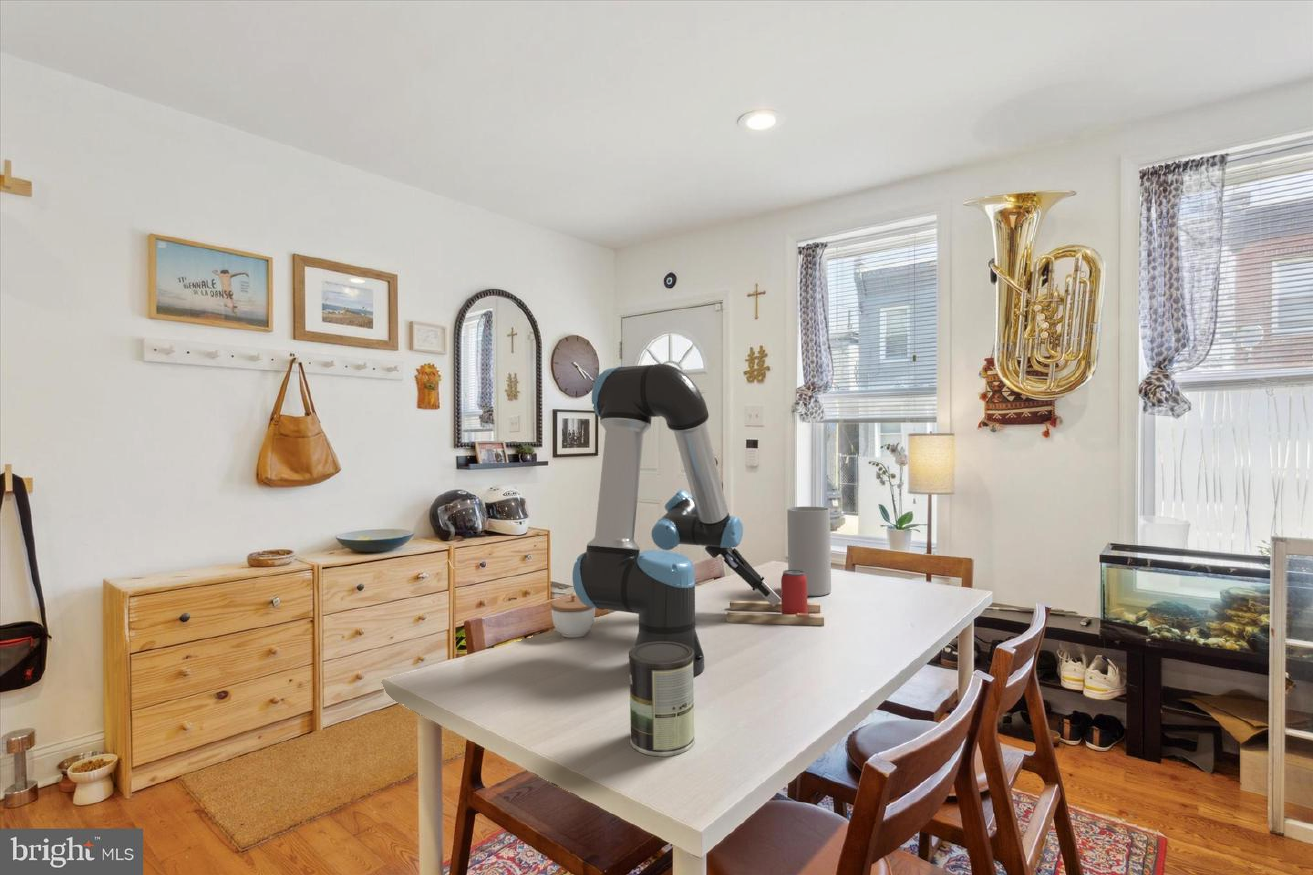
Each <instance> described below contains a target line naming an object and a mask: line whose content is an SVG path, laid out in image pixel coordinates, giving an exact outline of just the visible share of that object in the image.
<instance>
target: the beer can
mask: <svg viewBox="0 0 1313 875" xmlns="http://www.w3.org/2000/svg"><path fill="white" fill-rule="evenodd" d="M780 587H781V589H780V590H781V595H780V596H781V597H780V598H781V601H780V602H781V603H782V612H781V614H797V613H808V612H807V603H808V596H807V579H806V576H805V572H804V571H801V570H788V569H786V570H785V569H784V570H783V571H782V575H781V579H780Z"/></svg>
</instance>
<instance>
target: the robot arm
mask: <svg viewBox="0 0 1313 875" xmlns="http://www.w3.org/2000/svg"><path fill="white" fill-rule="evenodd" d="M591 404H592V405H593V406H592V409H593V411H594V413H595V414H596V415H597V417H599V424H600V425H601V426H602V427H603V429H604V430H605V434H604V441H603V442H604V443H603V454H602V463H601V474H600V480H599V481H600V482H599V492H598V493H599V494H598V502H597V511H596V513H597V514H596V522H595V523H596V524H595V533H594V536H593V538H592V539H591V540H590V541H589V542H588V543H586V550H585V552H583V553H581V554H579V556H578V557H577V558H576V561H575V562H574V564H573V568H572V586H573V590H574V593H575V596H576V597H578V598H579V600H580V601H581V602H582V603H583V604H585V605H587V606H590V607H595V609H598V610H601V611H602V610H609V611H617V612H623V613H624V612H625V613H631V614H636V615H638V632H637V636H636V640H635V643H634V646H633V647H635V646H637V645H640V644H643V643H647V642H655V641H670V642H677V643H682V644H685V645H687V646H689V647H691V648H692V649H693V651H694V658H693V678H694V677H696V676H699V675H700V674H701V673H702V672H703V671H704V670H705V656H704V652H703V649H702V645H701V643H700V640H699V639H700V638H699V637H698V633H697V631H696V577H695V568H694V564H693V561H692V560H691V559H690V558H688V557H687V556H685V555H683V554H681V553H677V552H673V551H670V550H673V549H674V548H676V547H678V545H688V546H701V547H705V548H704V549H705V552H707V553H708V555H709V556H711V558H713V559H715V558H717V557H718V556H719V555H721V557H722V558H723V562H724V563H725V564H726V565H727V566H728V568H730V569H732V570H733V571H734V572H735V573H736V574H737V575H738V576H739V577H740V578H742V580H743V581H745V582H746V584H748V585H749V586H750V587H751V588H752V589H751V590H752V591H754V592H755V590H756V591H757V592H758V593H759V594H760V595H761V596H762V597H763V598H764V599H765V601H766V602H769V603H770V604H771V605H772V606H773V607H774V606H775V605H777V604H778V603H779V602H781V597H780V596H779V595H778V594H777V593H776V592H775V591H774V590H773V589H772V588H771V587H770V586H769V585H768V584H767V583H766V582H765V581H764V580H765V577H764V576H761V575H760V574H759V573H758V572H757V571H756V570H755V569H754V568H753V567H752V566H751V564H750V563H749V562H748V561H747V560H746V559H745V558H744V556H742V555H741V553H740V552H739V550H738V549H737V548H736V547H738V546H739V545H740V544H741V542H742V539H743V535H744V534H743V533H744V526H743V522H742V520H741V519H740V517H737V516H734V515H730V513H729V510H728V505H727V503H726V502H727V500H726V499H725V493H724V489H723V485H722V482H721V478H720V473H719V468H718V465H717V461H716V457H715V453H714V449H713V444H712V441H711V437H710V433H709V430H708V425H707V422H708V421H709V419H710V414H709V411H708V407H707V403H706V400H705V399H704V397H703V394H702V393H701V391H700V389H699V388H698V387H697V385H696V383H695V382H694V381H693V380H692V379H691V378H690V377H689V376H688V375H687V374H686V373H685V372H683V371H682V370H680V369H679V368H677V367H675V366H673V365H670V364H665V363H655V364H645V365H630V366H622V365H621V366H617V367H613V368H608V369H604V370H603V371H602V372H601V373H600V374H599V375H598V376H597V377H596V379H595V381H594V383H593V387H592V391H591ZM655 417H662V418H663V419H664V420H665V422H666V426H667V428H668V429H669V430H670V431H671V432H673V433H674V437H675V440H676V444H677V446H678V447H677V448H678V451H679V453H680V454H679V455H680V458H681V461H682V464H683V465H682V466H683V469H684V473H685V477H686V479H687V483H688V486H689V489H690V493H688V491H686V490H684V489H679V490H678V492H676V493H675V494H674V495H673V496H672V497H671V498H670V499H669V500H668V501H667V502H666V503H665V504H664V509H665V510H666V514H664V515H663V516H662V517H661V518H660V519H658V521H657V522H656V523H655V524H654V525H653V527H652V529H651V540H652V541H653V543H654V545H655V546H656V547H658V548H659V549H661V550H656V549H652V550H651V549H650V550H644V551H641V549H640V548H641V547H639V545H638V544H637V543H636V542H635V532H636V531H635V530H636V519H637V510H638V509H637V508H638V498H639V488H640V487H639V486H640V476H641V465H642V464H641V463H642V454H643V443H644V442H643V441H644V434H645V433H646V432H647V431H648V430H650V429H651V426H652V418H655ZM640 551H641V552H640Z"/></svg>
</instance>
